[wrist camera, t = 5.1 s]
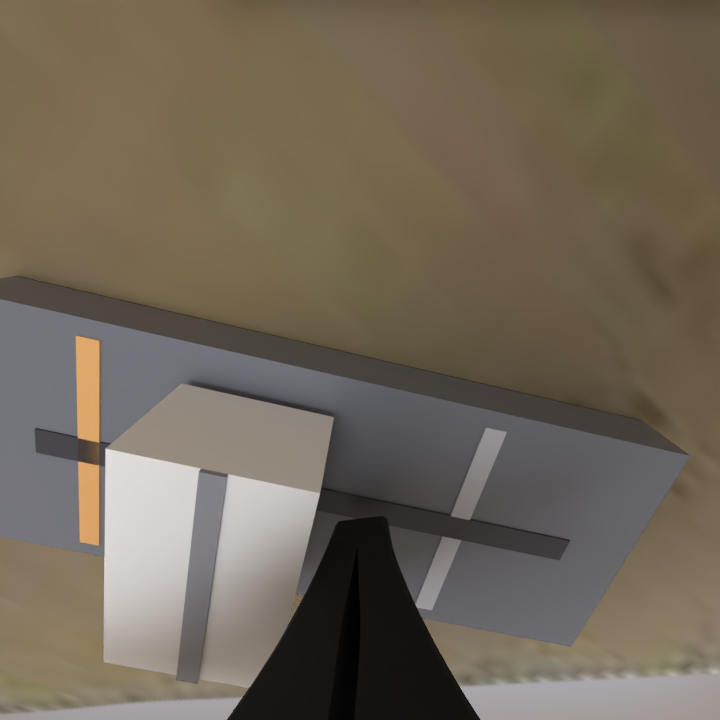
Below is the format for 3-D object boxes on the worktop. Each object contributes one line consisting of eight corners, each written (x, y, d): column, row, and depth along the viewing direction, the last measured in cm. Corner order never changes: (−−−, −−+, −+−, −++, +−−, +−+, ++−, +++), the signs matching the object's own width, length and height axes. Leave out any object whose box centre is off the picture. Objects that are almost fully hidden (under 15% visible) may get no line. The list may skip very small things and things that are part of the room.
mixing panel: (642, 420, 13) (691, 457, 11) (546, 594, 15) (572, 648, 13) (16, 276, 11) (-57, 286, 9) (31, 491, 14) (-23, 533, 12)
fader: (334, 417, 10) (319, 497, 7) (294, 581, 12) (270, 696, 9) (181, 383, 10) (102, 451, 7) (167, 556, 12) (100, 666, 9)
